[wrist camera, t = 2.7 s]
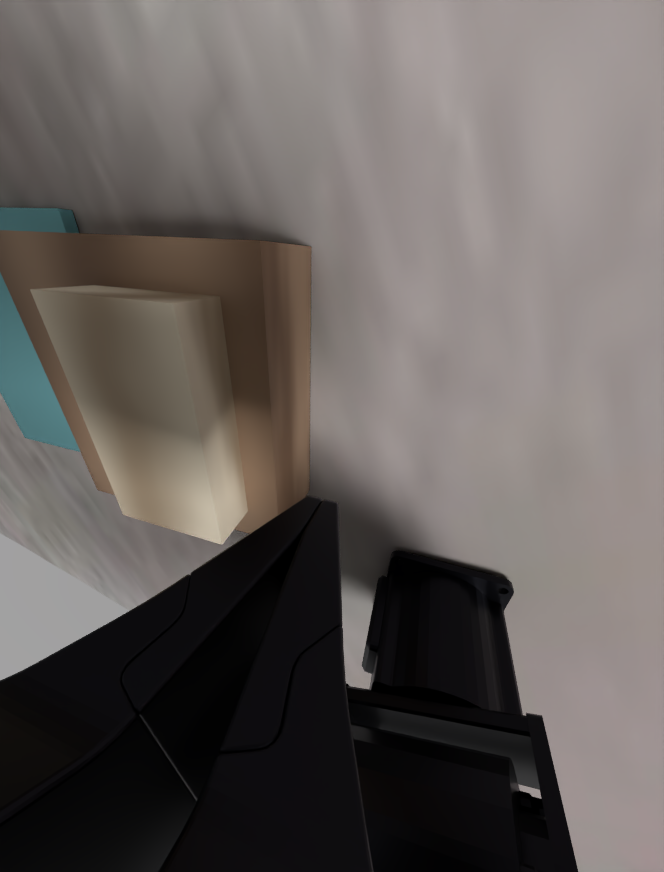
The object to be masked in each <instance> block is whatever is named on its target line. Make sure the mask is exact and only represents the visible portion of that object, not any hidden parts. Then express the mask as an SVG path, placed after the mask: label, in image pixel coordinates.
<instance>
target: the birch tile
mask: <svg viewBox="0 0 664 872" xmlns="http://www.w3.org/2000/svg"><path fill="white" fill-rule="evenodd" d="M30 291H31V293H32V296H33V298H34V300H35V303H36V305H37V308H38V310H39V313H40V315H41V317H42V320H43V322H44V325H45V327H46V329H47V332H48V334H49V337H50V339H51V342H52V344H53V346H54V349H55V351H56V354H57V356H58V358H59V361H60V363H61V366H62V368H63V371H64V373H65V375H66V378H67V380H68V383H69V385H70V387H71V390H72V392H73V395H74V397H75V400H76V402H77V404H78V407H79V409H80V412H81V414H82V416H83V419H84V421H85V424H86V426H87V428H88V431H89V433H90V436H91V438H92V441H93V443H94V445H95V448H96V450H97V453H98V455H99V457H100V460H101V462H102V465H103V467H104V470H105V472H106V474H107V477H108V479H109V482H110V484H111V486H112V489H113V491H114V494H115V496H116V499H117V501H118V503H119V506H120V508H121V511H122V513H123V515H126V516H129V517H132V518H135V519H139V520H142V521H145V522H149V523H152V524H155V525H158V526H162V527H165V528H168V529H172V530H175V531H178V532H181V533H185V534H188V535H191V536H195V537H198V538H201V539H204V540H208V541H211V542H214V543H218V544H221V545H222V544H223V543H224V542H225V541H226V539H227V538H228V537H229V535H230V534H231V533H232V531H233V530H234V529H235V528H236V526H237V525H238V524H239V522H240V521H241V520H242V518H243V517H244V516H245V514H246V513H247V512H248V508H247V500H246V492H245V485H244V477H243V469H242V461H241V454H240V446H239V438H238V431H237V423H236V415H235V408H234V400H233V392H232V385H231V377H230V369H229V362H228V354H227V346H226V339H225V331H224V323H223V315H222V308H221V300H220V296H210V295H199V294H188V293H177V292H165V291H154V290H143V289H132V288H121V287H110V286H98V285H89V286H74V287H58V288H43V289H30Z"/></svg>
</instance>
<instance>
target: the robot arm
mask: <svg viewBox="0 0 664 872" xmlns="http://www.w3.org/2000/svg"><path fill="white" fill-rule="evenodd" d="M399 559H400V560H399ZM513 593H514V590H513V586H512V583H511V582H510V581H509V580H507V579H504V578H500V577H496V576H493V575H489V574H485V573H482V572H478V571H474V570H470V569H467V568H463V567H459V566H455V565H452V564H448V563H444V562H441V561H437V560H433V559H429V558H426V557H422V556H418V555H414V554H411V553H407V552H403V551H394V552H393V553H392V554H391V559H390V564H389V568H388V573H387V577H386V576H381V577H379V578H378V584H377V589H376V594H375V599H374V604H373V610H372V615H371V620H370V625H369V631H368V636H367V641H366V646H365V651H364V657H363V662H362V667H363V669H364V671H365V672H368V673H371V674H372V677H371V683H370V689H369V690H368V689H362V688H356V687H350V686H349V685H348V684H346V681H345V667H344V652H343V628H342V599H341V568H340V537H339V507H338V503H337V502H334V501H330V500H322V499H321V498H318V497H313V496H306V497H305V498H303V499H302V500H300V501H299V502H297V503H296V504H294V505H293V506H291V507H290V508H288V509H287V510H285V511H283V512H282V513H280V514H279V515H277V516H276V517H274V518H273V519H271V520H270V521H268V522H267V523H265V524H264V525H262V526H261V527H259V528H258V529H256V530H255V531H253V532H252V533H250V534H249V535H247V536H246V537H244V538H243V539H241V540H240V541H238V542H237V543H235V544H234V545H232V546H231V547H229V548H227V549H226V550H224V551H223V552H221V553H220V554H218V555H217V556H215V557H214V558H212V559H211V560H209V561H208V562H206V563H205V564H203V565H202V566H200V567H199V568H197V569H196V570H194V571H193V572H192V573H191V575H186V576H185V577H183V578H182V579H180V580H179V581H177V582H176V583H174V584H173V585H171V586H170V587H168V588H166V589H165V590H163V591H162V592H160V593H159V594H157V595H155V596H154V597H152V598H151V599H149V600H147V601H146V602H144V603H142V604H141V605H139V606H137V607H136V608H134V609H132V610H130V611H129V612H127V613H126V614H123V615H122V616H120V617H118V618H117V619H115V620H113V621H111V622H109V623H108V624H106V625H104V626H102V627H101V628H99V629H97V630H95V631H93V632H91V633H90V634H88V635H86V636H84V637H83V638H81V639H79V640H77V641H75V642H74V643H72V644H70V645H68V646H66V647H65V648H63V649H61V650H59V651H58V652H56V653H54V654H52V655H50V656H48V657H47V658H45V659H43V660H41V661H39V662H38V663H36V664H34V665H32V666H30V667H28V668H26V669H24V670H23V671H20V672H18V673H16V674H14V675H12V676H10V677H7V678H5V679H3V680H0V872H578V869H577V865H576V860H575V856H574V852H573V847H572V843H571V839H570V834H569V830H568V826H567V821H566V817H565V813H564V808H563V804H562V800H561V795H560V791H559V787H558V782H557V778H556V774H555V770H554V765H553V761H552V757H551V752H550V748H549V744H548V739H547V735H546V731H545V726H544V722H543V718H542V715H536V714H530V713H526V716H524V715H523V714H522V708H521V703H520V698H519V692H518V687H517V681H516V676H515V671H514V665H513V660H512V654H511V649H510V644H509V638H508V633H507V627H506V622H505V617H504V609H505V608H506V606H507V604H508V602H509V601H510V599H511V597H512V596H513ZM518 784H520V785H524V786H528V787H532V788H536V789H540V792H541V797H542V799H539V798H535V797H532V796H531V795H530V793H526V792H522V791H520V790H519V785H518Z"/></svg>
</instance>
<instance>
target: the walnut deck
mask: <svg viewBox="0 0 664 872" xmlns="http://www.w3.org/2000/svg"><path fill="white" fill-rule="evenodd" d="M0 273H1V275H2V277H3V279H4V282H5V284H6V286H7V288H8V291H9V293H10V295H11V297H12V300H13V302H14V304H15V306H16V308H17V311H18V313H19V315H20V317H21V320H22V322H23V324H24V326H25V329H26V331H27V333H28V335H29V338H30V340H31V342H32V344H33V347H34V349H35V351H36V353H37V355H38V358H39V360H40V362H41V364H42V367H43V369H44V371H45V373H46V376H47V378H48V380H49V382H50V385H51V387H52V389H53V391H54V393H55V396H56V398H57V400H58V402H59V405H60V407H61V409H62V411H63V414H64V416H65V418H66V420H67V423H68V425H69V427H70V429H71V432H72V434H73V436H74V438H75V440H76V443H77V445H78V447H79V449H80V452H81V454H82V456H83V458H84V461H85V463H86V465H87V467H88V470H89V472H90V474H91V476H92V479H93V481H94V483H95V485H96V487H97V490H99V491H103V492H106V493H110V494H113V495H115V494H114V491H113V489H112V486H111V484H110V482H109V479H108V477H107V474H106V472H105V470H104V467H103V465H102V462H101V460H100V457H99V455H98V453H97V450H96V448H95V445H94V443H93V441H92V438H91V436H90V433H89V431H88V428H87V426H86V424H85V421H84V419H83V416H82V414H81V412H80V409H79V407H78V404H77V402H76V400H75V397H74V395H73V392H72V390H71V387H70V385H69V383H68V380H67V378H66V375H65V373H64V371H63V368H62V366H61V363H60V361H59V358H58V356H57V354H56V351H55V349H54V346H53V344H52V342H51V339H50V337H49V334H48V332H47V329H46V327H45V325H44V322H43V320H42V317H41V315H40V313H39V310H38V308H37V305H36V303H35V300H34V298H33V296H32V293H31V291H30V289H43V288H58V287H74V286H89V285H98V286H110V287H121V288H132V289H143V290H154V291H165V292H177V293H188V294H199V295H210V296H220V300H221V308H222V315H223V323H224V331H225V339H226V346H227V354H228V362H229V369H230V377H231V385H232V392H233V400H234V408H235V415H236V423H237V431H238V438H239V446H240V454H241V461H242V469H243V477H244V485H245V492H246V500H247V508H248V512H247V513H246V514H245V516H244V517H243V518H242V520H241V521H240V522H239V524H238V525H237V526H236V528H235V530H238V531H242V532H245V533H249V534H250V533H252V532H253V531H255V530H256V529H258V528H259V527H261V526H262V525H264V524H265V523H267V522H268V521H270V520H271V519H273V518H274V517H276V516H277V515H279V514H280V513H282V512H283V511H285V510H287V509H288V508H290V507H291V506H293V505H294V504H296V503H297V502H299V501H300V500H302V499H303V498H305V497H306V495H307V493H308V491H309V472H310V341H311V247H309V246H301V245H293V244H285V243H277V242H268V241H260V240H235V239H210V238H185V237H160V236H134V235H109V234H84V233H59V232H34V231H9V230H0Z"/></svg>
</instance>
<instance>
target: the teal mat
mask: <svg viewBox="0 0 664 872" xmlns="http://www.w3.org/2000/svg"><path fill="white" fill-rule="evenodd" d="M0 230H9V231H34V232H59V233H79V231H78V228H77V225H76V221H75V218H74V215H73V212H72V210H66V209H59V208H0ZM0 393H1V395H2V396H3V398H4V400H5V402H6V404H7V406H8V407H9V409H10V411H11V413H12V415H13V417H14V418H15V420H16V422H17V424H18V426H19V428H20V430H21V431H22V433H23V435H24V437H25V438H28V439H31V440H35V441H39V442H43V443H47V444H51V445H55V446H59V447H63V448H67V449H71V450H75V451H78V452H80V449H79V447H78V445H77V443H76V440H75V438H74V436H73V434H72V432H71V429H70V427H69V425H68V423H67V420H66V418H65V416H64V414H63V411H62V409H61V407H60V405H59V402H58V400H57V398H56V396H55V393H54V391H53V389H52V387H51V385H50V382H49V380H48V378H47V376H46V373H45V371H44V369H43V367H42V364H41V362H40V360H39V358H38V355H37V353H36V351H35V349H34V347H33V344H32V342H31V340H30V338H29V335H28V333H27V331H26V329H25V326H24V324H23V322H22V320H21V317H20V315H19V313H18V311H17V308H16V306H15V304H14V302H13V300H12V297H11V295H10V293H9V291H8V288H7V286H6V284H5V282H4V279H3V277H2V275H1V273H0Z"/></svg>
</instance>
